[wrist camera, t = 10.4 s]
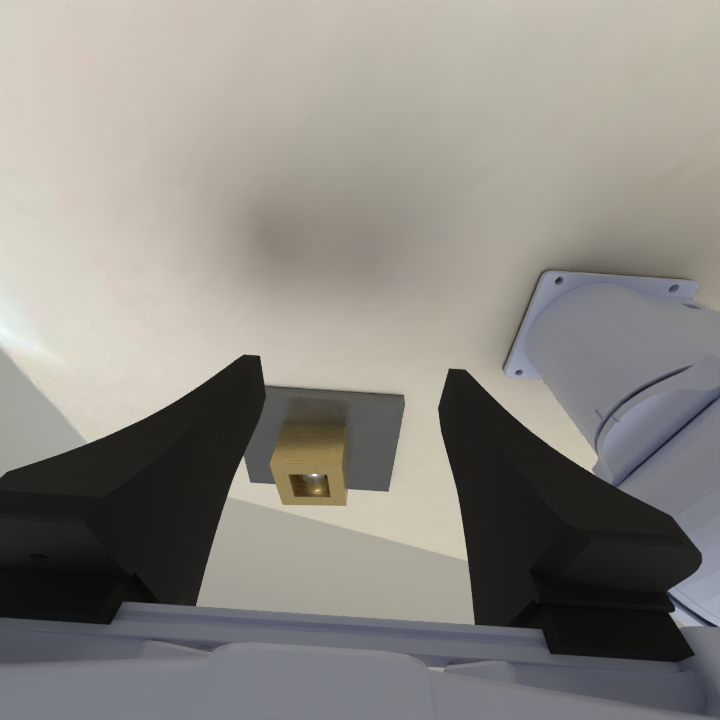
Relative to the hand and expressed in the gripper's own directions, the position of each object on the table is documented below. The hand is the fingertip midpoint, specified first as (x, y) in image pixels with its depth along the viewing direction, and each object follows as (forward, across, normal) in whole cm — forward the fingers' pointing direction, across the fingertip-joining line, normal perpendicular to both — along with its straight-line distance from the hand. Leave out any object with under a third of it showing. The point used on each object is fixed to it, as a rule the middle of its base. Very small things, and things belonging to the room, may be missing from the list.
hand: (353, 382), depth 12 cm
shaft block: (+10, +3, +15) cm, 18 cm away
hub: (+9, +3, +15) cm, 17 cm away
